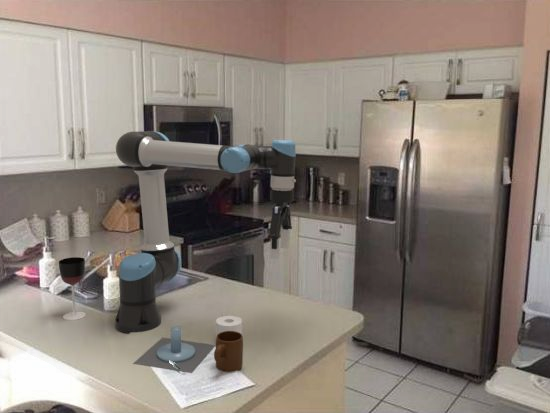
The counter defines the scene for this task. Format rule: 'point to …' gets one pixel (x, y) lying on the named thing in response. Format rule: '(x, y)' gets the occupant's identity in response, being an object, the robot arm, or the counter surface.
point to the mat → (186, 366)
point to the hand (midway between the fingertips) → (279, 253)
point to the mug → (229, 351)
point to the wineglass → (72, 280)
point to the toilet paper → (228, 324)
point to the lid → (176, 348)
